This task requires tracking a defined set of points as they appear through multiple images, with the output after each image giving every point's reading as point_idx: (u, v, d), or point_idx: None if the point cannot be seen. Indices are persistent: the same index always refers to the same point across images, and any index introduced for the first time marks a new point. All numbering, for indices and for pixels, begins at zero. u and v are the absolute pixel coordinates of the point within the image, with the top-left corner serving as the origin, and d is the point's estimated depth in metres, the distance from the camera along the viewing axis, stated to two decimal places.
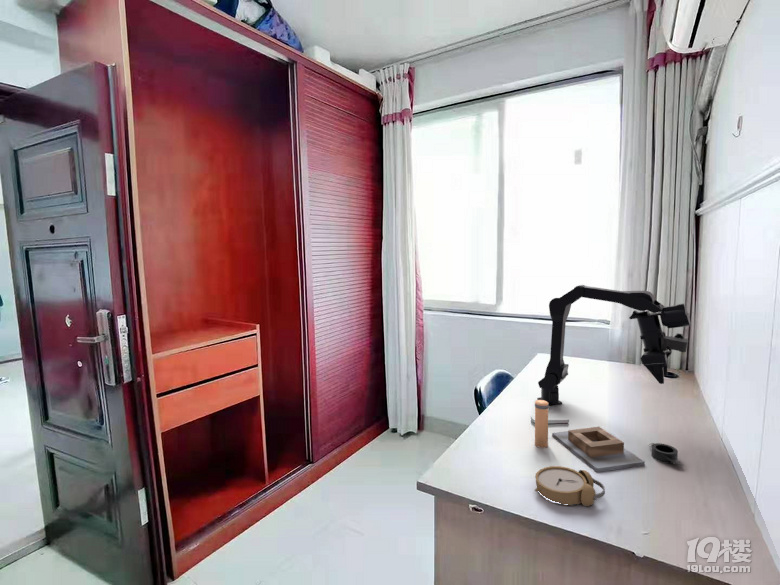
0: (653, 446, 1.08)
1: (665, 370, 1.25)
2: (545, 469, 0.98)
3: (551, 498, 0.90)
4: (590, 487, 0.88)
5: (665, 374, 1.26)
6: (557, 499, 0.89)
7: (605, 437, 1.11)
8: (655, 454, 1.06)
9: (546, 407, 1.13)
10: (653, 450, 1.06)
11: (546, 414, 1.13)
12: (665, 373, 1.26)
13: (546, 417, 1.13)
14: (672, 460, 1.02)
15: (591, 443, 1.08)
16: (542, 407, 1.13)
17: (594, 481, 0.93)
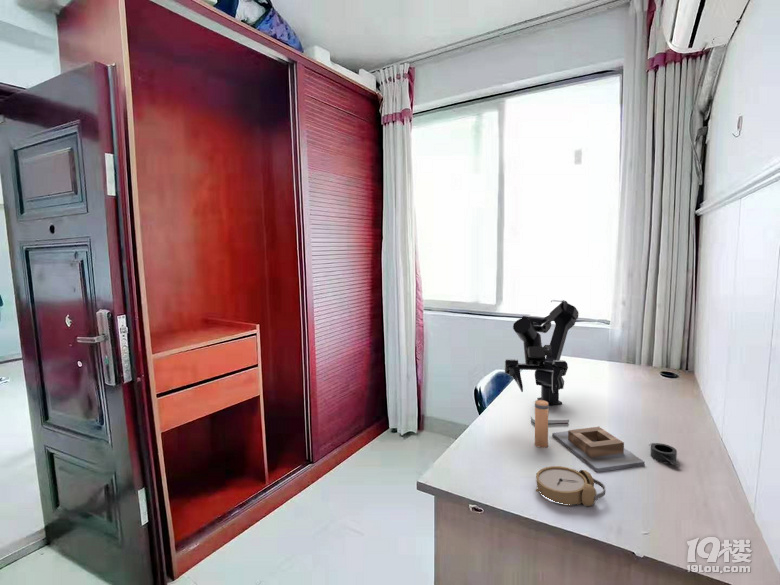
0: (652, 445, 1.08)
1: (552, 387, 1.21)
2: (545, 469, 0.98)
3: (552, 498, 0.90)
4: (591, 487, 0.88)
5: (553, 391, 1.21)
6: (558, 499, 0.89)
7: (605, 437, 1.11)
8: (653, 453, 1.06)
9: (546, 407, 1.13)
10: (652, 449, 1.07)
11: (546, 414, 1.13)
12: (552, 390, 1.21)
13: (546, 417, 1.13)
14: (669, 460, 1.02)
15: (591, 443, 1.08)
16: (542, 407, 1.13)
17: (594, 481, 0.93)
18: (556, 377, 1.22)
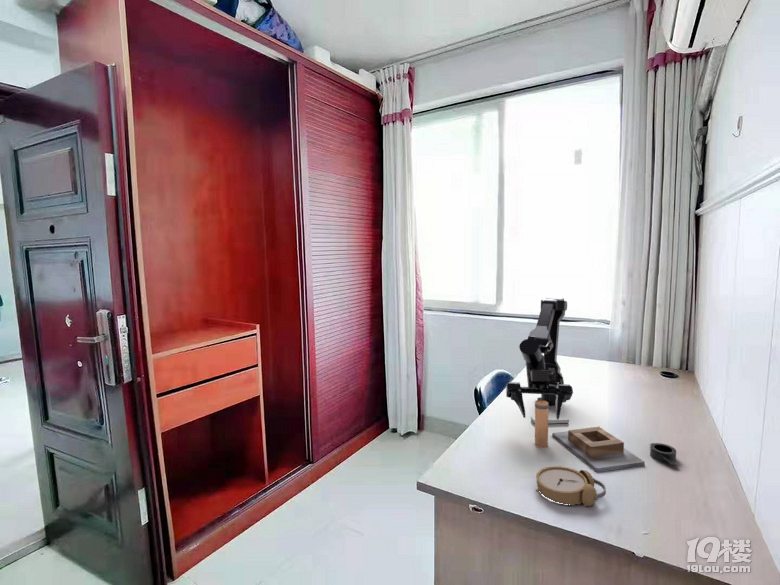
0: (652, 445, 1.08)
1: (556, 413, 1.15)
2: (546, 469, 0.98)
3: (552, 498, 0.90)
4: (591, 487, 0.88)
5: (557, 418, 1.14)
6: (558, 499, 0.89)
7: (605, 437, 1.11)
8: (652, 453, 1.06)
9: (546, 407, 1.13)
10: (651, 449, 1.07)
11: (546, 414, 1.13)
12: (556, 416, 1.14)
13: (546, 417, 1.13)
14: (668, 460, 1.03)
15: (591, 443, 1.08)
16: (542, 407, 1.13)
17: (595, 481, 0.93)
18: (560, 402, 1.15)
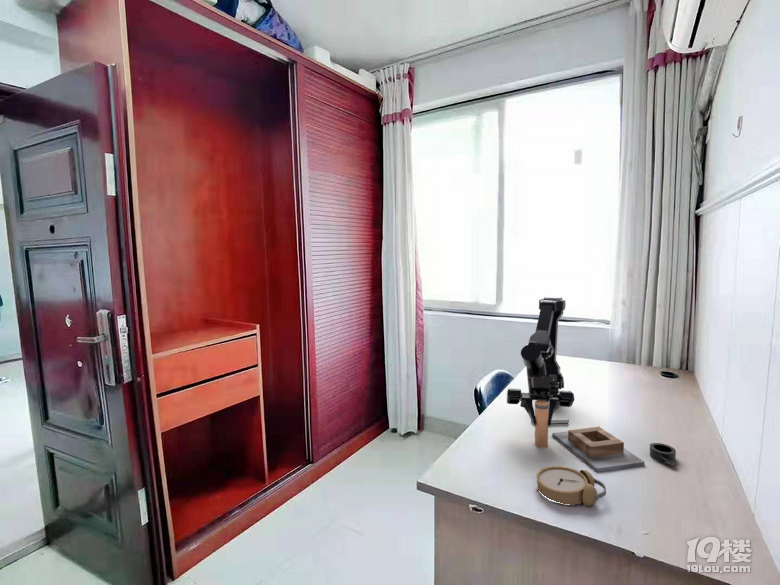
0: (651, 445, 1.08)
1: (548, 419, 1.14)
2: (546, 469, 0.98)
3: (552, 498, 0.90)
4: (591, 487, 0.88)
5: (549, 425, 1.13)
6: (558, 499, 0.89)
7: (605, 437, 1.11)
8: (652, 453, 1.06)
9: (546, 407, 1.13)
10: (650, 449, 1.07)
11: (546, 414, 1.13)
12: (548, 423, 1.13)
13: (546, 417, 1.13)
14: (667, 460, 1.03)
15: (591, 443, 1.08)
16: (542, 407, 1.13)
17: (595, 481, 0.93)
18: (552, 409, 1.15)
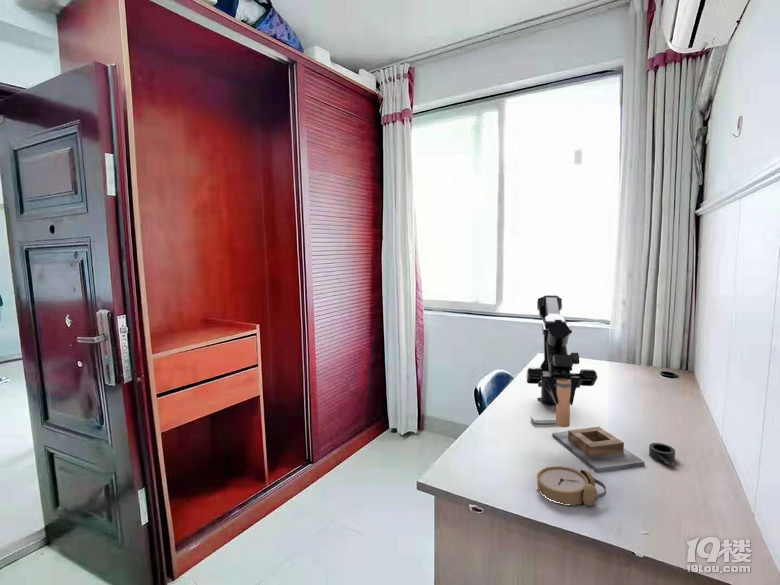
0: (651, 445, 1.08)
1: (570, 398, 1.12)
2: (546, 469, 0.98)
3: (553, 498, 0.90)
4: (592, 487, 0.88)
5: (571, 403, 1.11)
6: (559, 499, 0.89)
7: (605, 437, 1.11)
8: (650, 452, 1.07)
9: (568, 385, 1.10)
10: (649, 448, 1.07)
11: (568, 392, 1.11)
12: (570, 401, 1.11)
13: (568, 395, 1.11)
14: (664, 459, 1.03)
15: (591, 443, 1.08)
16: (564, 385, 1.10)
17: (595, 481, 0.93)
18: (574, 387, 1.12)
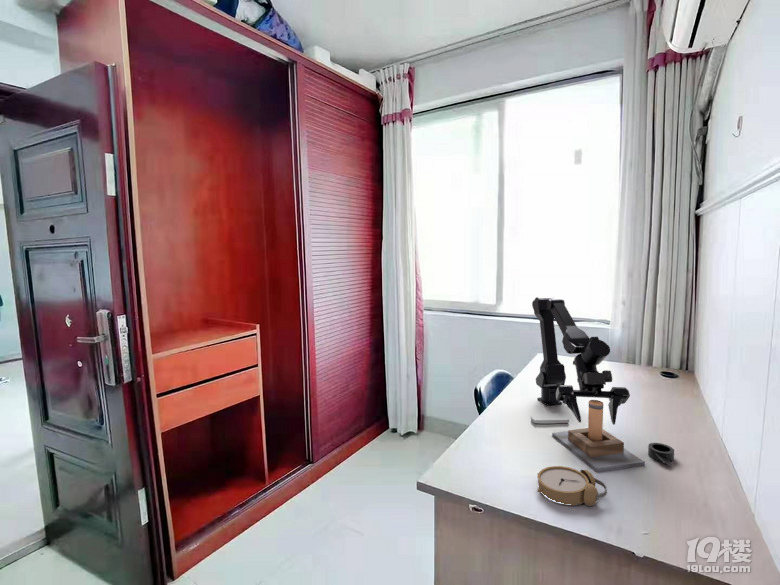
0: (650, 444, 1.09)
1: (612, 417, 1.09)
2: (547, 469, 0.98)
3: (554, 498, 0.90)
4: (593, 487, 0.88)
5: (613, 423, 1.09)
6: (560, 499, 0.89)
7: (605, 437, 1.11)
8: (649, 451, 1.07)
9: (601, 407, 1.09)
10: (648, 447, 1.08)
11: (601, 414, 1.09)
12: (612, 421, 1.09)
13: (601, 417, 1.09)
14: (662, 459, 1.03)
15: (591, 443, 1.08)
16: (597, 407, 1.09)
17: (596, 481, 0.93)
18: (616, 406, 1.10)
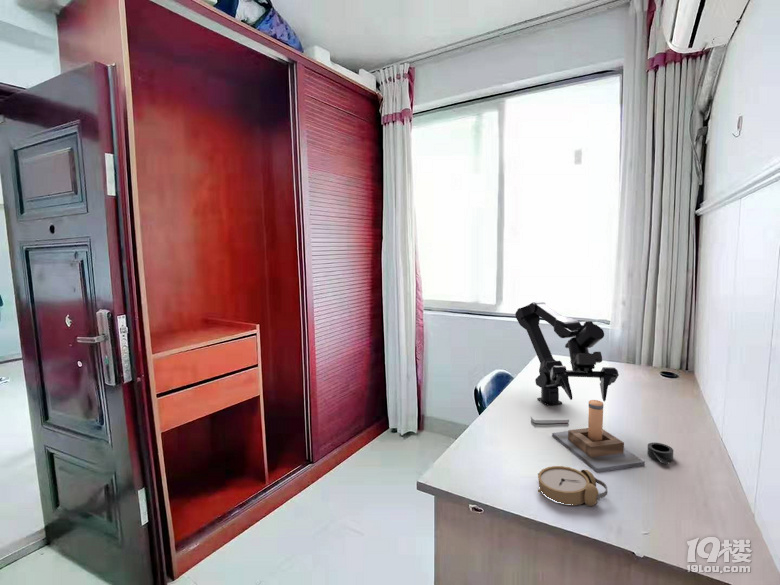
0: (650, 444, 1.09)
1: (603, 395, 1.18)
2: (547, 469, 0.98)
3: (554, 498, 0.90)
4: (593, 487, 0.88)
5: (604, 400, 1.17)
6: (560, 499, 0.89)
7: (605, 437, 1.11)
8: (648, 451, 1.07)
9: (601, 407, 1.09)
10: None
11: (601, 414, 1.09)
12: (603, 398, 1.18)
13: (601, 418, 1.09)
14: (659, 458, 1.03)
15: (591, 443, 1.08)
16: (597, 407, 1.09)
17: (596, 481, 0.94)
18: (607, 385, 1.19)
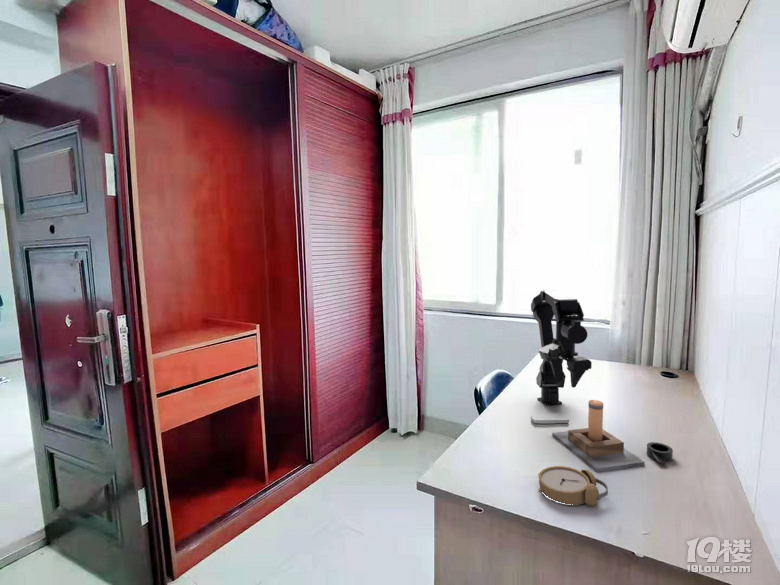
0: (649, 443, 1.09)
1: None
2: (548, 469, 0.98)
3: (555, 498, 0.90)
4: (594, 487, 0.88)
5: None
6: (561, 499, 0.89)
7: (605, 437, 1.11)
8: (647, 450, 1.08)
9: (601, 407, 1.09)
10: None
11: (601, 414, 1.09)
12: None
13: (601, 418, 1.09)
14: (657, 457, 1.04)
15: (591, 443, 1.08)
16: (597, 407, 1.09)
17: (597, 480, 0.94)
18: (572, 375, 1.23)
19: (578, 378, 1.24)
